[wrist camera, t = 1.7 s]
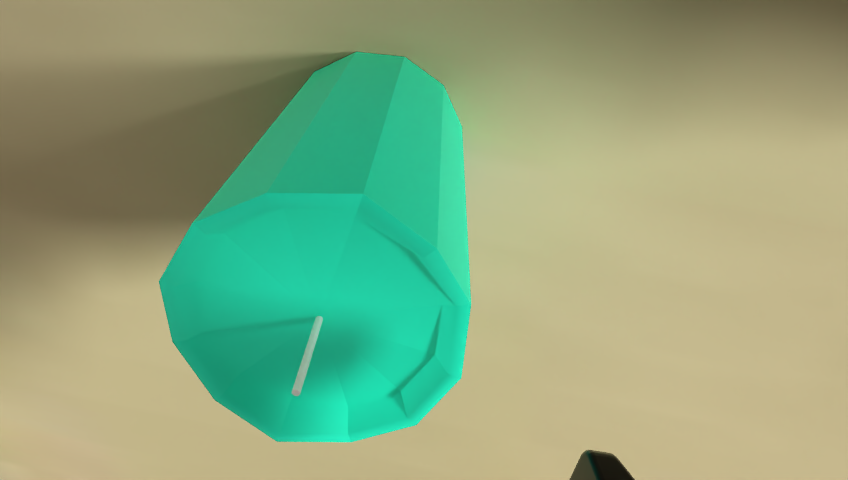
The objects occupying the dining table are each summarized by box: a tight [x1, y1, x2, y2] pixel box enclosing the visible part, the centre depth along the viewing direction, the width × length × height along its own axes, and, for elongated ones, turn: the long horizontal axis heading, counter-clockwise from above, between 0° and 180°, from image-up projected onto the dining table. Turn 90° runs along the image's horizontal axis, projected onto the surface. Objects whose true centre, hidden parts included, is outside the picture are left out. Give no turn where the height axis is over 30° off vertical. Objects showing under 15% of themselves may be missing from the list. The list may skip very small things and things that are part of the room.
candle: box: [159, 52, 471, 442], centre depth 15 cm, size 6×6×12 cm
